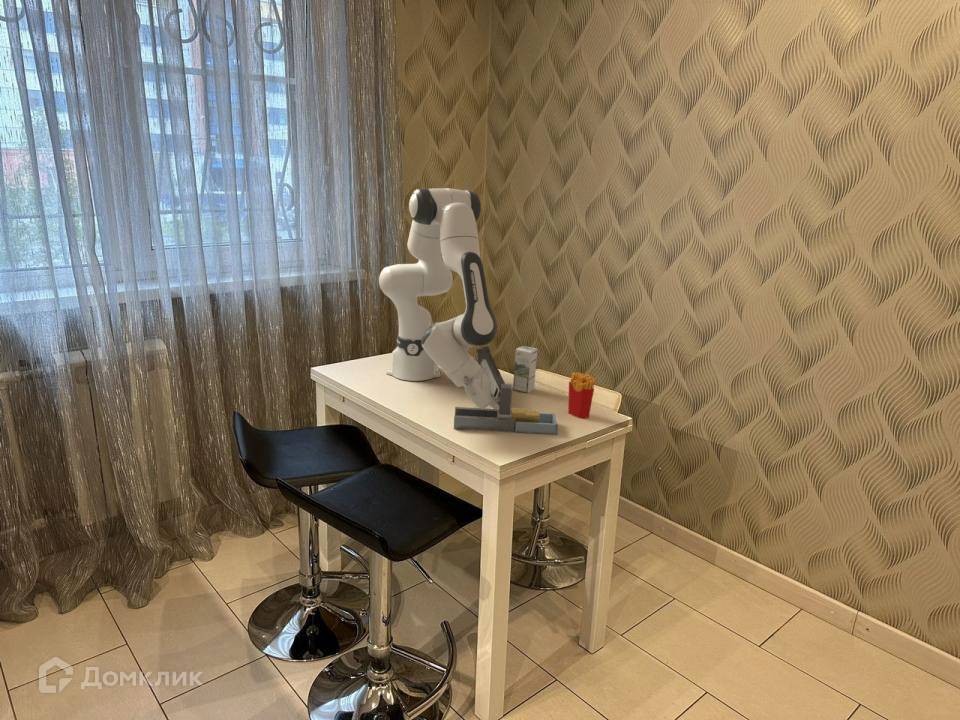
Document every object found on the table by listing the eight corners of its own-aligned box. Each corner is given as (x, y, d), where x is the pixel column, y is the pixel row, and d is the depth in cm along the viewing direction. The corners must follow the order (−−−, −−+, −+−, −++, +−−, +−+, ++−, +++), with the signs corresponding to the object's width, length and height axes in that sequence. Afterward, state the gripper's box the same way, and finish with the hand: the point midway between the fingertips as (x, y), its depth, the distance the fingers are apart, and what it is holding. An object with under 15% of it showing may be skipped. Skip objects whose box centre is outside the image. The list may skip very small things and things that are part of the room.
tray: (513, 420, 204) (514, 411, 204) (554, 422, 205) (554, 413, 204) (515, 432, 196) (515, 422, 195) (557, 434, 196) (558, 424, 195)
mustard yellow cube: (523, 422, 202) (524, 410, 201) (537, 423, 202) (538, 410, 201) (524, 427, 198) (525, 414, 197) (538, 428, 198) (539, 415, 197)
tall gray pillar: (496, 419, 202) (499, 383, 198) (510, 419, 202) (513, 384, 199) (497, 424, 198) (499, 388, 195) (510, 425, 198) (513, 388, 195)
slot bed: (454, 417, 204) (455, 406, 203) (512, 421, 204) (512, 409, 203) (453, 428, 196) (454, 417, 195) (513, 431, 196) (514, 420, 195)
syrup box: (534, 389, 234) (538, 347, 229) (527, 393, 228) (531, 351, 224) (519, 385, 236) (522, 344, 232) (512, 390, 231) (515, 348, 227)
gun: (489, 423, 218) (496, 384, 210) (469, 374, 240) (474, 337, 232) (504, 422, 219) (511, 384, 211) (482, 373, 241) (488, 337, 233)
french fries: (563, 411, 214) (567, 371, 211) (573, 408, 217) (577, 369, 213) (584, 420, 208) (589, 380, 204) (594, 418, 210) (599, 377, 206)
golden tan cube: (510, 420, 202) (511, 407, 201) (524, 421, 202) (525, 408, 201) (510, 425, 198) (511, 412, 197) (524, 426, 198) (525, 413, 197)
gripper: (472, 376, 185) (506, 412, 188) (474, 355, 204) (504, 388, 207) (455, 391, 186) (489, 427, 189) (458, 368, 206) (489, 401, 208)
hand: (497, 406), depth 198 cm, fingers closed, pressing on tall gray pillar
